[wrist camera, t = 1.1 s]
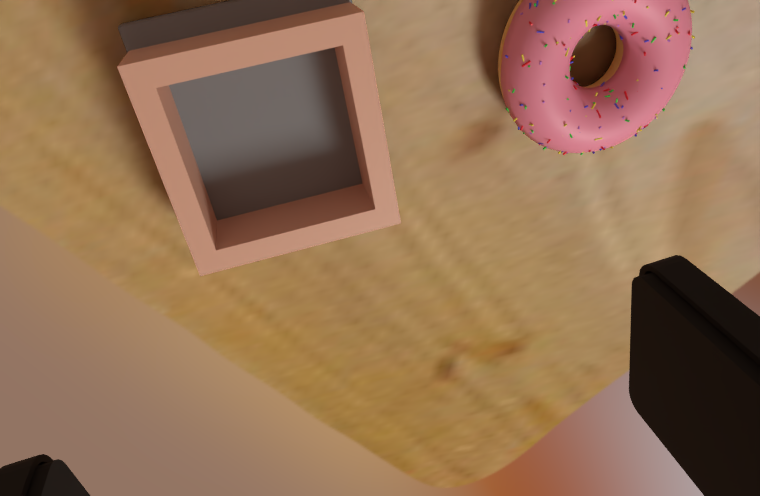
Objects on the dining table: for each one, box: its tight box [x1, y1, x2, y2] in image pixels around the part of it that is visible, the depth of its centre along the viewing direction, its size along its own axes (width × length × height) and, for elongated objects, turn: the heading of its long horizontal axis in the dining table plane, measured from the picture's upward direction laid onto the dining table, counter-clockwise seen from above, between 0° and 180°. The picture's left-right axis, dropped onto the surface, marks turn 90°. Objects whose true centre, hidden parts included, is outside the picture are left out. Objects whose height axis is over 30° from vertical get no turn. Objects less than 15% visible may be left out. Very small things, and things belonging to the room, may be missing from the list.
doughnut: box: [498, 0, 695, 155], centre depth 32 cm, size 11×11×4 cm
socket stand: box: [117, 0, 401, 276], centre depth 30 cm, size 13×11×4 cm
